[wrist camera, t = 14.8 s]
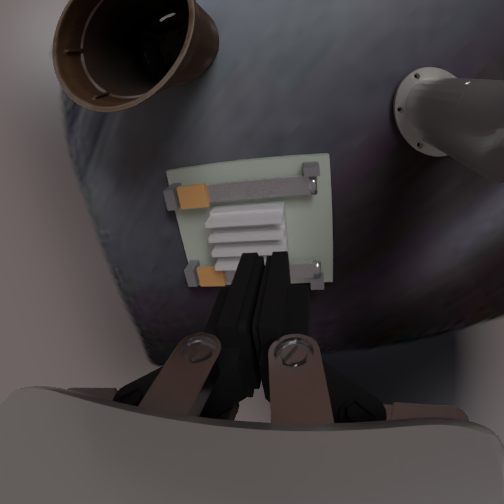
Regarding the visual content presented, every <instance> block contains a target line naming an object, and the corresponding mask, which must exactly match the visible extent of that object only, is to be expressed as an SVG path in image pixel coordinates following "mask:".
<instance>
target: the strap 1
mask: <svg viewBox="0 0 504 504" xmlns="http://www.w3.org/2000/svg"><path fill="white" fill-rule="evenodd" d="M176 189H177V193H178V197H179V202H180V206H181V210H184V209H193V208H203V207H209V206H210V202H219V201H230V200H241V199H253V198H266V197H279V196H294V195H316V194H318V189H317V176H311V177H304V175H293V176H279V177H267V178H256V179H245V180H235V181H225V182H216V183H208V184H206V183H200V184H192V185H184V186H178V187H177V188H176Z"/></svg>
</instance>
